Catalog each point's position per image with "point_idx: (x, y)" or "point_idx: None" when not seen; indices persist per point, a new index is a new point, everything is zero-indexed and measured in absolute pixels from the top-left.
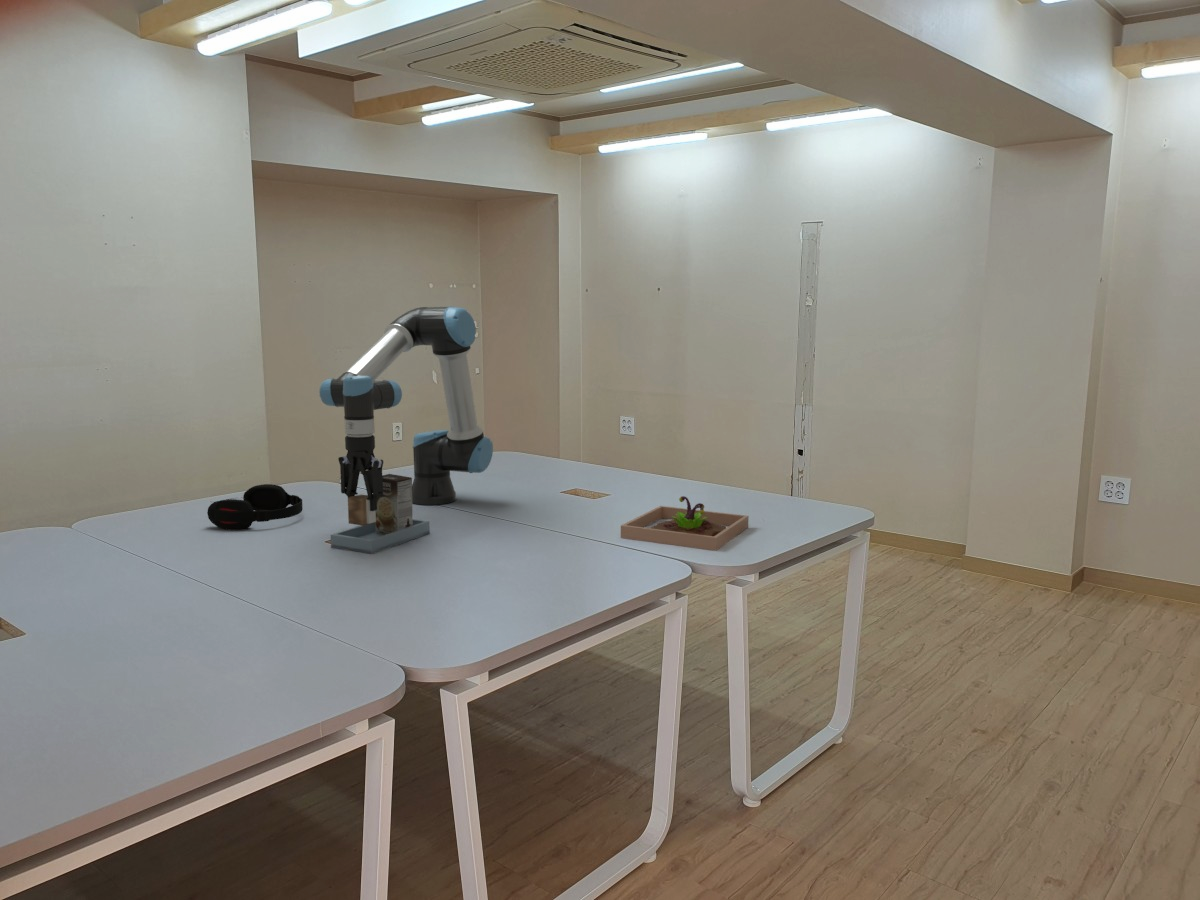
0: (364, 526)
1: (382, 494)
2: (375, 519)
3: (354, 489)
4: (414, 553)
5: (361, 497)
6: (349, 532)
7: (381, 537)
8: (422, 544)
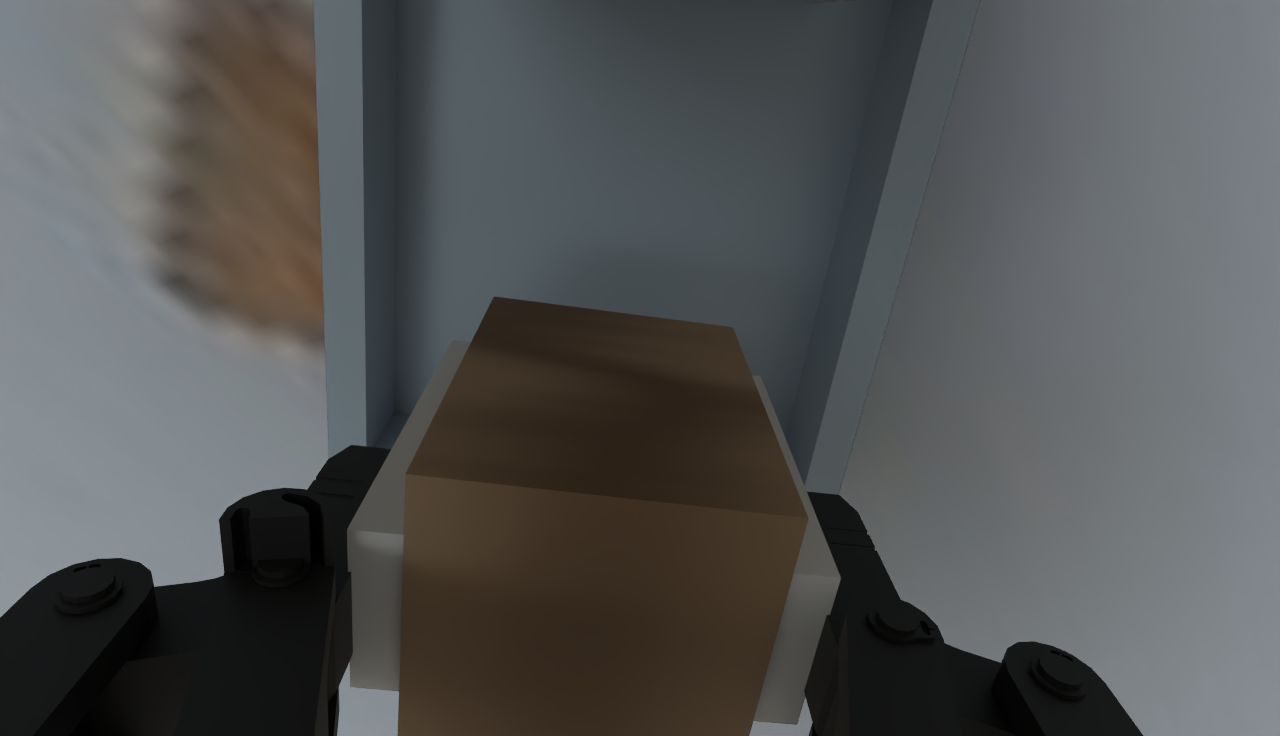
0: (365, 16)
1: (1091, 690)
2: (765, 394)
3: (324, 705)
4: (1134, 343)
5: (614, 687)
6: (373, 275)
7: (858, 412)
8: (1121, 47)
